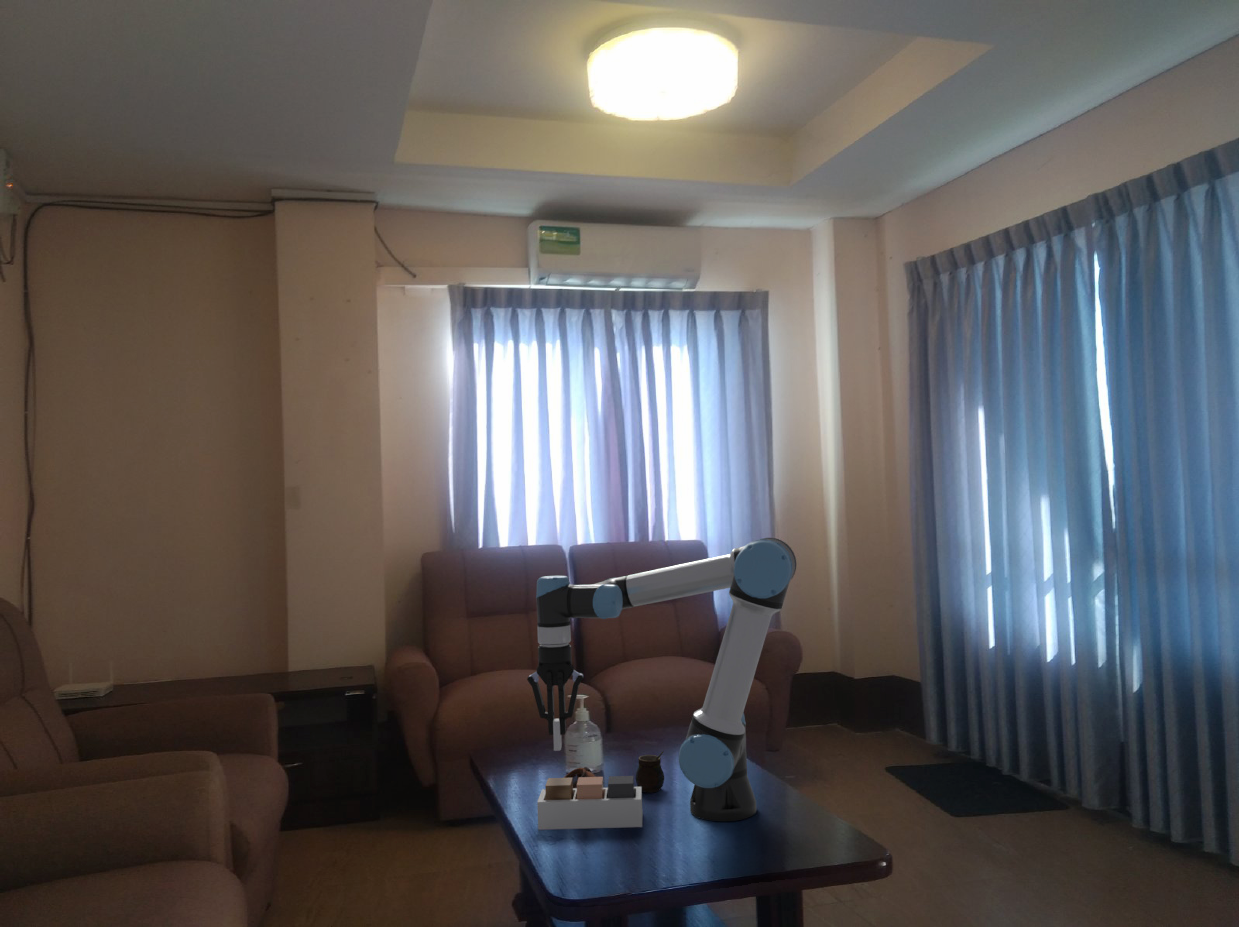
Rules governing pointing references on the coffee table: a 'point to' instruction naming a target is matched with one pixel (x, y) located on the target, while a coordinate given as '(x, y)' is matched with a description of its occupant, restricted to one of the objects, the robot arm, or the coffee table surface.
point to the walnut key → (559, 789)
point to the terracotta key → (590, 788)
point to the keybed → (590, 812)
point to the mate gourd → (650, 773)
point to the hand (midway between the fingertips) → (557, 748)
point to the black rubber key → (621, 787)
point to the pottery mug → (579, 774)
